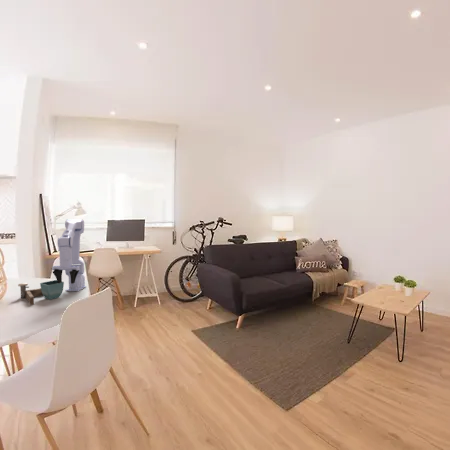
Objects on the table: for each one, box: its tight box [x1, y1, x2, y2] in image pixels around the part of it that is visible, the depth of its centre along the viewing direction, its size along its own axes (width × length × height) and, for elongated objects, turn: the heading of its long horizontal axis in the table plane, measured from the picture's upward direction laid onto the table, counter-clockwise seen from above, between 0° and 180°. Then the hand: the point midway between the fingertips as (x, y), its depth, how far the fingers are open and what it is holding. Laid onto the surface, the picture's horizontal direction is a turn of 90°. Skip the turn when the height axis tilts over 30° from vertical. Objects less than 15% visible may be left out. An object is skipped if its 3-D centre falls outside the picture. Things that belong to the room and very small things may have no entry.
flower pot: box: [39, 279, 65, 300], centre depth 153 cm, size 9×9×9 cm
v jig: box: [17, 282, 43, 306], centre depth 153 cm, size 23×16×8 cm
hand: (66, 283), depth 149 cm, fingers open, 7 cm apart
